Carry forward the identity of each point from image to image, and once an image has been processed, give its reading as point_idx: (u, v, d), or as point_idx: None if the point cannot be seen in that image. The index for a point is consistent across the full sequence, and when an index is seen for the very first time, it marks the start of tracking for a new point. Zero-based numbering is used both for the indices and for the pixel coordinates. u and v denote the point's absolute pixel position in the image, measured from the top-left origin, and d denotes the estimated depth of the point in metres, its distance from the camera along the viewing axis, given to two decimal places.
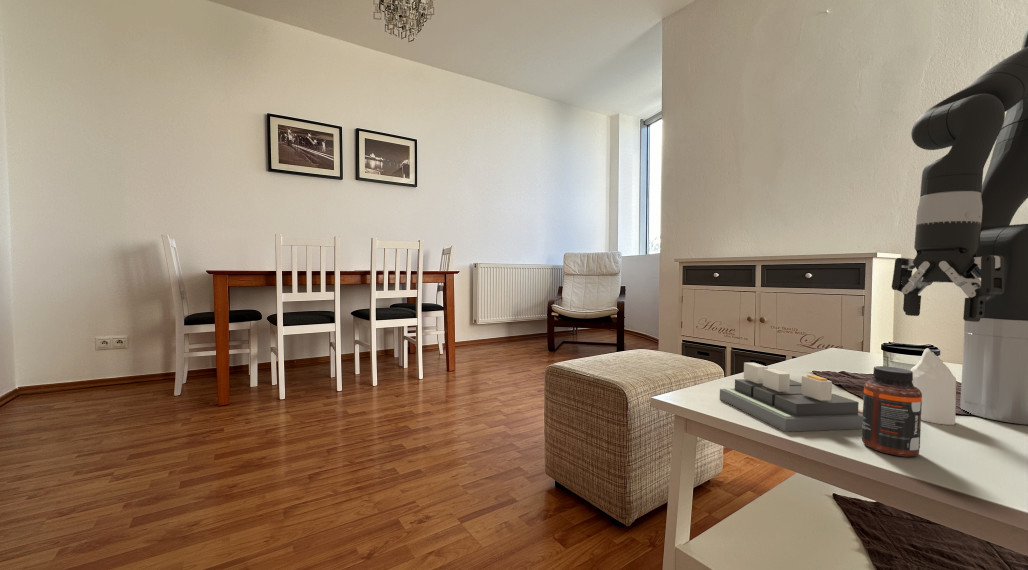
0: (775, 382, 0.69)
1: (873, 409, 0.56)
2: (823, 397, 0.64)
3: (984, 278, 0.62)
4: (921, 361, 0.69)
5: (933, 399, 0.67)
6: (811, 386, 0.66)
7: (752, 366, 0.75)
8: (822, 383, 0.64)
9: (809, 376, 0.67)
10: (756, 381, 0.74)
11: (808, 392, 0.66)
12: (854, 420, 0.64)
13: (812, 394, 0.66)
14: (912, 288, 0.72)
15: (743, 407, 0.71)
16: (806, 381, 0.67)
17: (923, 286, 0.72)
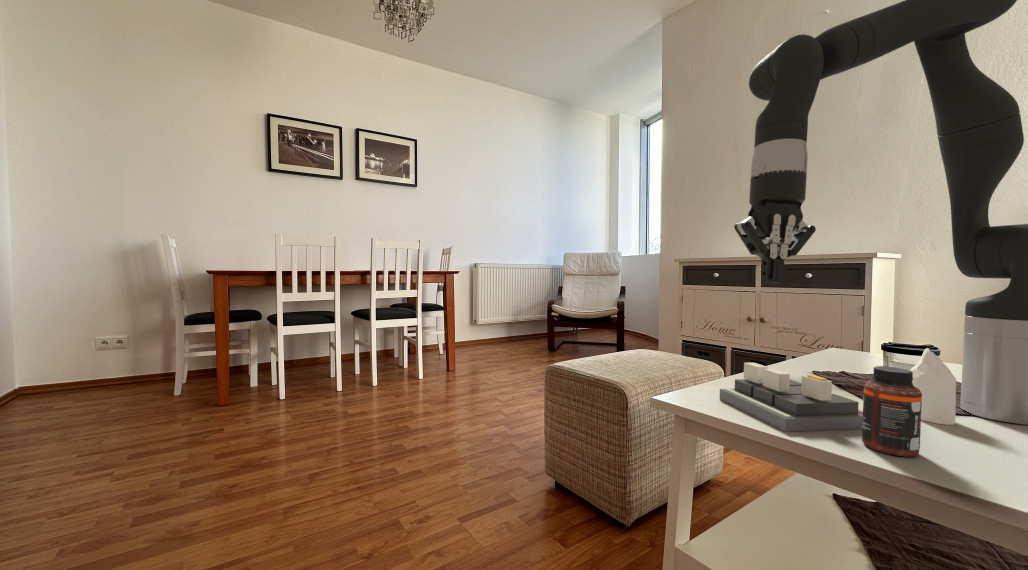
0: (775, 382, 0.69)
1: (873, 409, 0.56)
2: (823, 397, 0.64)
3: (800, 242, 0.64)
4: (921, 361, 0.69)
5: (933, 399, 0.67)
6: (811, 386, 0.66)
7: (752, 366, 0.75)
8: (822, 383, 0.64)
9: (809, 376, 0.67)
10: (756, 381, 0.74)
11: (808, 392, 0.66)
12: (854, 420, 0.64)
13: (812, 394, 0.66)
14: (776, 248, 0.64)
15: (743, 407, 0.71)
16: (806, 381, 0.67)
17: (767, 246, 0.65)
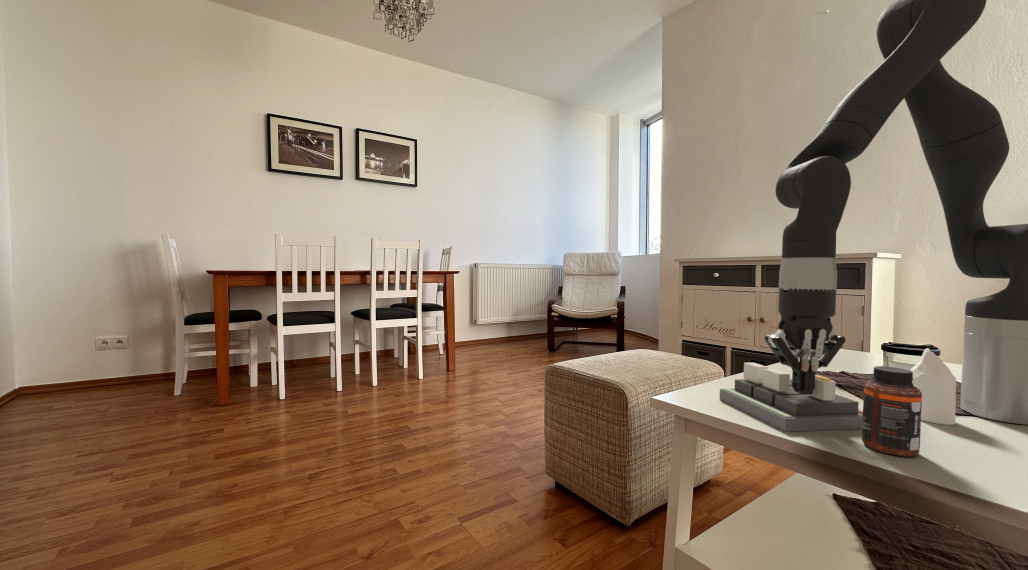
0: (775, 382, 0.69)
1: (873, 409, 0.56)
2: (827, 397, 0.64)
3: (830, 353, 0.65)
4: (921, 361, 0.69)
5: (933, 399, 0.67)
6: None
7: (752, 366, 0.75)
8: (826, 383, 0.64)
9: None
10: (756, 381, 0.74)
11: None
12: (854, 420, 0.64)
13: (815, 394, 0.66)
14: (807, 361, 0.64)
15: (743, 407, 0.71)
16: None
17: (797, 355, 0.66)
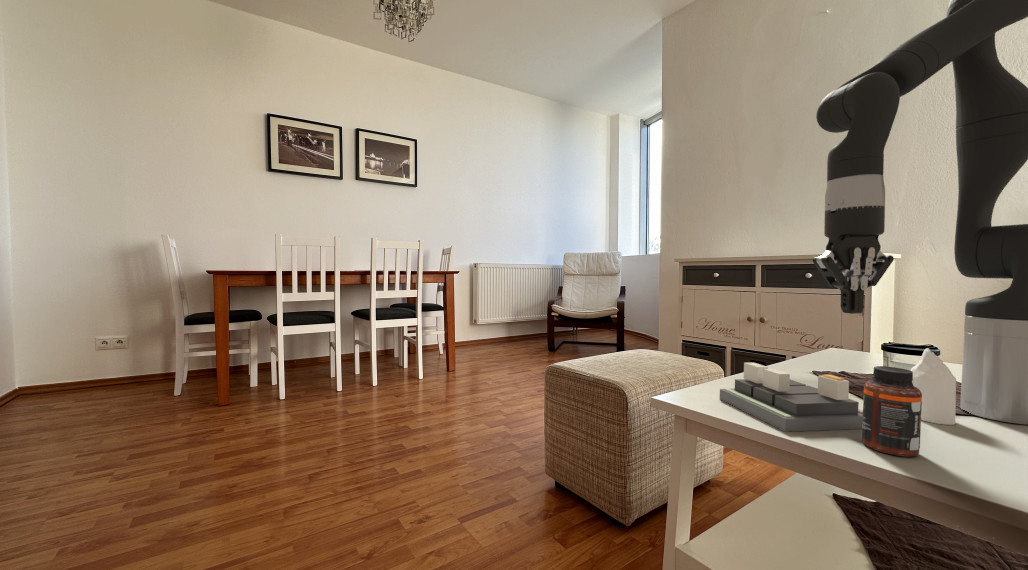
0: (775, 382, 0.69)
1: (873, 409, 0.56)
2: (840, 396, 0.65)
3: (879, 272, 0.65)
4: (921, 361, 0.69)
5: (933, 399, 0.67)
6: (827, 386, 0.66)
7: (752, 366, 0.75)
8: (839, 383, 0.64)
9: (826, 376, 0.67)
10: (756, 381, 0.74)
11: (825, 392, 0.67)
12: (854, 420, 0.64)
13: (829, 394, 0.66)
14: (857, 280, 0.65)
15: (743, 407, 0.71)
16: (823, 381, 0.67)
17: (845, 277, 0.67)
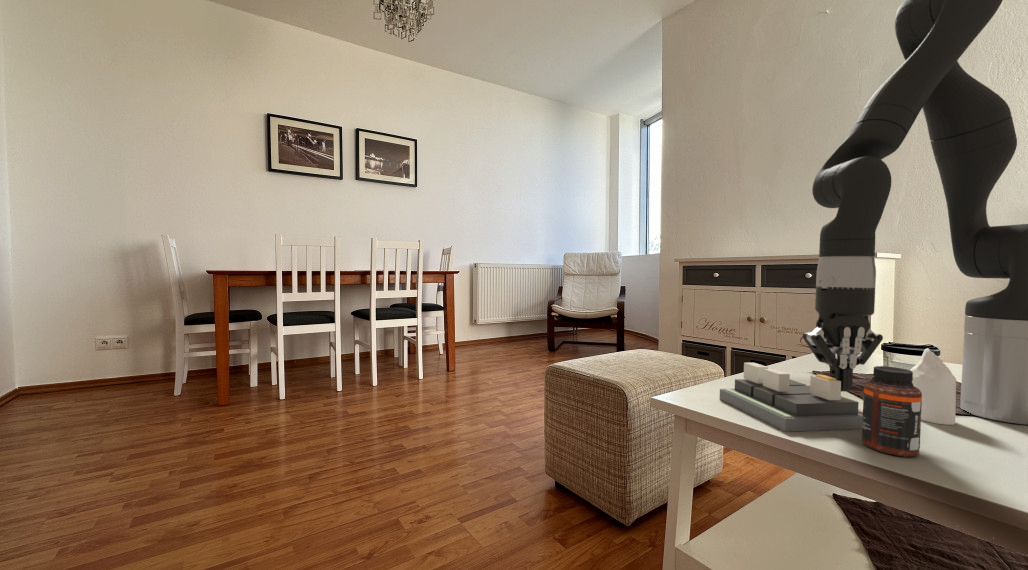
0: (775, 382, 0.69)
1: (873, 409, 0.56)
2: (833, 397, 0.64)
3: (868, 351, 0.66)
4: (921, 361, 0.69)
5: (933, 399, 0.67)
6: (819, 386, 0.66)
7: (752, 366, 0.75)
8: (831, 383, 0.64)
9: (818, 376, 0.67)
10: (756, 381, 0.74)
11: (817, 392, 0.66)
12: (854, 420, 0.64)
13: (821, 394, 0.66)
14: (846, 358, 0.65)
15: (743, 407, 0.71)
16: (815, 381, 0.67)
17: (835, 353, 0.67)
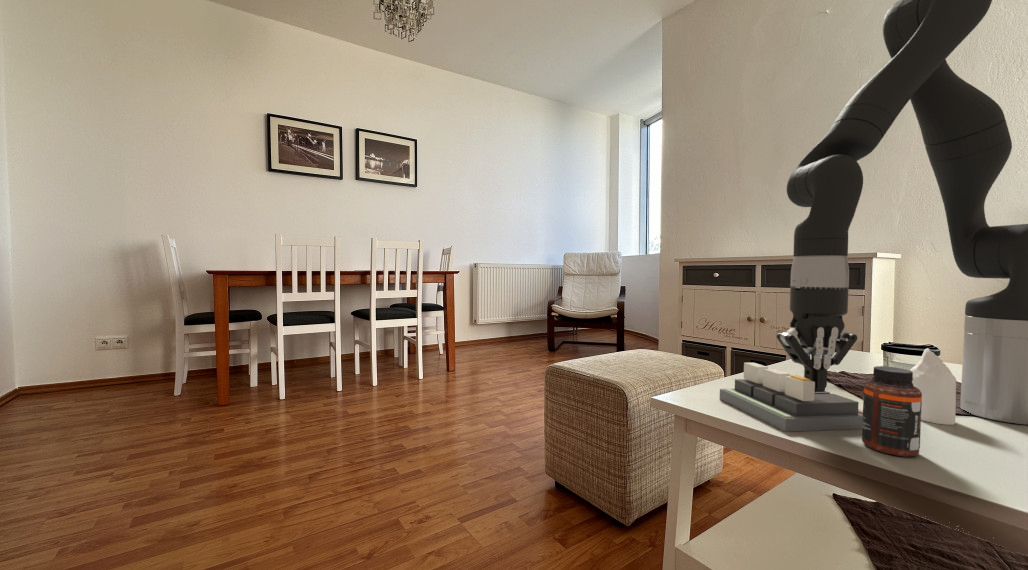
0: (775, 382, 0.69)
1: (873, 409, 0.56)
2: (806, 397, 0.64)
3: (842, 351, 0.65)
4: (921, 361, 0.69)
5: (933, 399, 0.67)
6: (794, 386, 0.65)
7: (752, 366, 0.75)
8: (805, 383, 0.64)
9: (792, 376, 0.66)
10: (756, 381, 0.74)
11: (792, 393, 0.66)
12: (854, 420, 0.64)
13: (795, 394, 0.65)
14: (820, 359, 0.65)
15: (743, 407, 0.71)
16: (789, 381, 0.66)
17: (809, 353, 0.66)
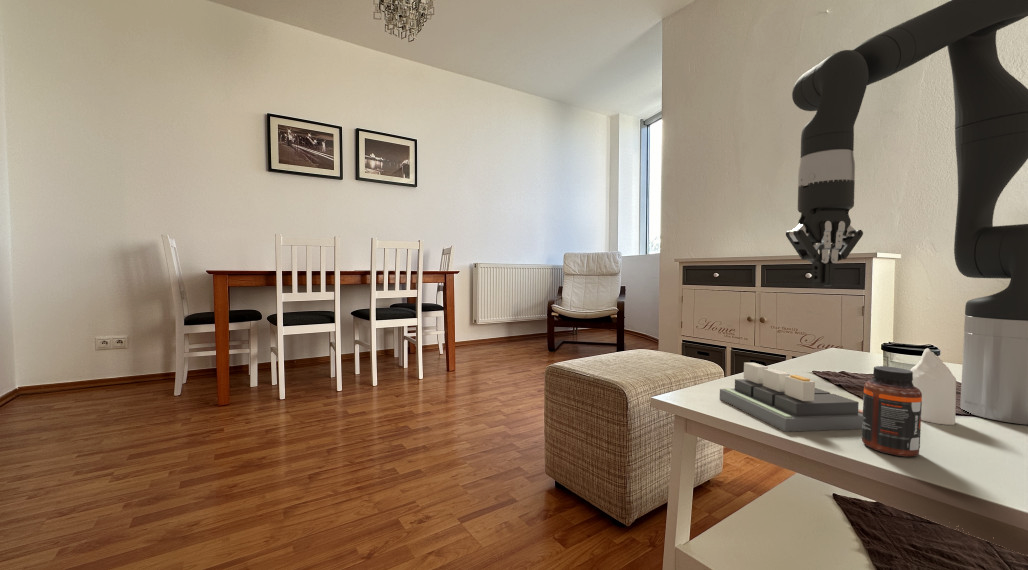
0: (775, 382, 0.69)
1: (873, 409, 0.56)
2: (806, 397, 0.64)
3: (849, 246, 0.67)
4: (921, 361, 0.69)
5: (933, 399, 0.67)
6: (794, 386, 0.65)
7: (752, 366, 0.75)
8: (805, 383, 0.64)
9: (792, 376, 0.66)
10: (756, 381, 0.74)
11: (791, 393, 0.66)
12: (854, 420, 0.64)
13: (795, 394, 0.65)
14: (827, 253, 0.67)
15: (743, 407, 0.71)
16: (789, 381, 0.66)
17: (817, 250, 0.69)
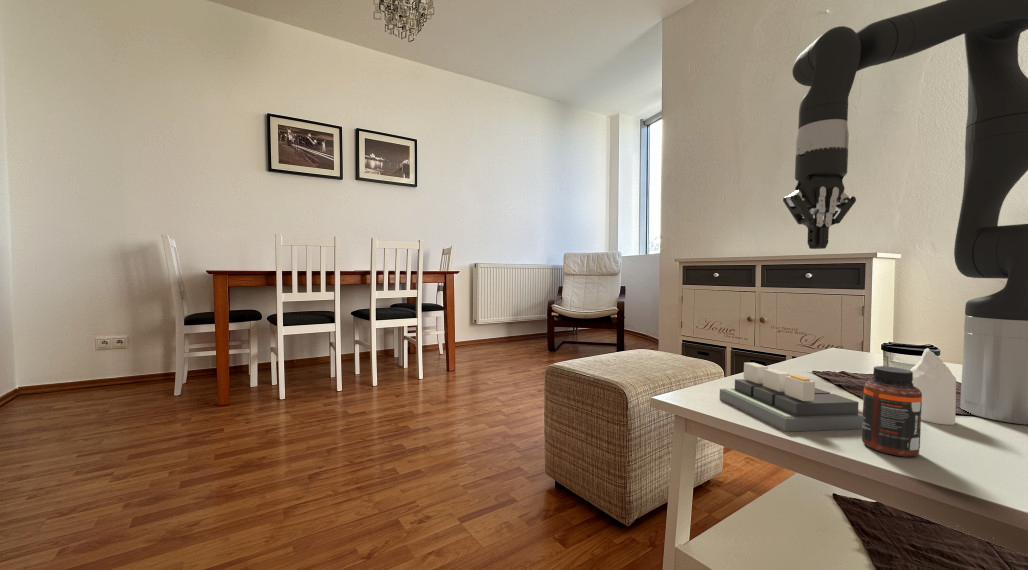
0: (775, 382, 0.69)
1: (873, 409, 0.56)
2: (806, 397, 0.64)
3: (842, 211, 0.72)
4: (921, 361, 0.69)
5: (933, 399, 0.67)
6: (794, 386, 0.65)
7: (752, 366, 0.75)
8: (805, 383, 0.64)
9: (792, 376, 0.66)
10: (756, 381, 0.74)
11: (791, 393, 0.66)
12: (854, 420, 0.64)
13: (795, 394, 0.65)
14: (822, 217, 0.72)
15: (743, 407, 0.71)
16: (789, 381, 0.66)
17: (812, 216, 0.73)
